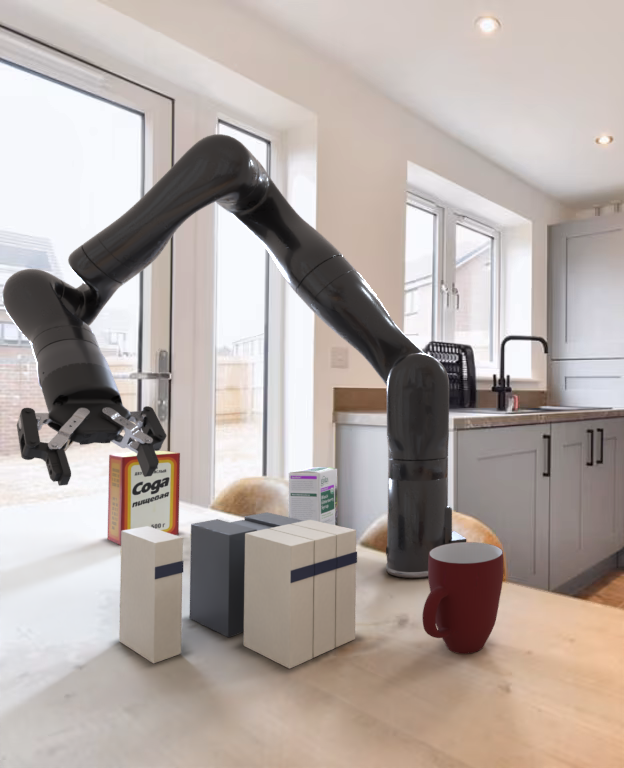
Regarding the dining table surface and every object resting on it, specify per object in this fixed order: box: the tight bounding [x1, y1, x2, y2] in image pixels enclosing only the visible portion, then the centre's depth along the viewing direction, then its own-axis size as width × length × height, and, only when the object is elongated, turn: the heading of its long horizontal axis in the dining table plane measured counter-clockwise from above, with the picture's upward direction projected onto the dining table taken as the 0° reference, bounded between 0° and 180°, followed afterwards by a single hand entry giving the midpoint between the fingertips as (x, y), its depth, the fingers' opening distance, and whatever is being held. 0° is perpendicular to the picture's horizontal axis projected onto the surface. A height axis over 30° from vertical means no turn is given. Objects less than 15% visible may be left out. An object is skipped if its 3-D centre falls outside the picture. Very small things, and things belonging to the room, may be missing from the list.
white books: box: [243, 520, 358, 670], centre depth 59 cm, size 8×9×12 cm
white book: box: [118, 526, 184, 664], centre depth 57 cm, size 3×9×12 cm, turn 55°
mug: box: [422, 541, 504, 655], centre depth 57 cm, size 10×8×10 cm
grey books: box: [189, 511, 303, 638], centre depth 66 cm, size 10×9×11 cm
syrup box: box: [288, 466, 339, 526], centre depth 90 cm, size 6×6×14 cm
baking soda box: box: [107, 450, 181, 546], centre depth 102 cm, size 10×6×16 cm
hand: (110, 476), depth 64 cm, fingers open, 8 cm apart
